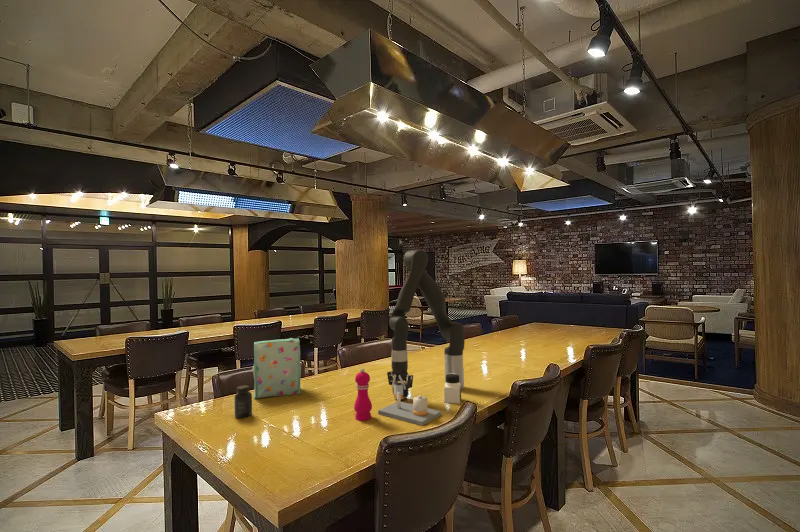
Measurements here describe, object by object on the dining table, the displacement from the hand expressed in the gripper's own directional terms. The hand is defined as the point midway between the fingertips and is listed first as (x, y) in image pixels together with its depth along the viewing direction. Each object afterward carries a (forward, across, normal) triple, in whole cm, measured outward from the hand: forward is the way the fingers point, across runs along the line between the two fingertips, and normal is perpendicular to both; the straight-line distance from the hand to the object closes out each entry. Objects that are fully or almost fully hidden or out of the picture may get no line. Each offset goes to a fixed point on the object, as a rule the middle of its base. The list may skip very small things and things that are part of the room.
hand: (400, 395), depth 181 cm
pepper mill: (+1, -2, +27) cm, 27 cm away
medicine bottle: (+2, -21, -12) cm, 24 cm away
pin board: (+1, -15, +13) cm, 20 cm away
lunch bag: (+1, +56, +28) cm, 62 cm away
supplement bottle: (+1, +41, +54) cm, 68 cm away
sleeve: (+1, 0, 0) cm, 1 cm away
